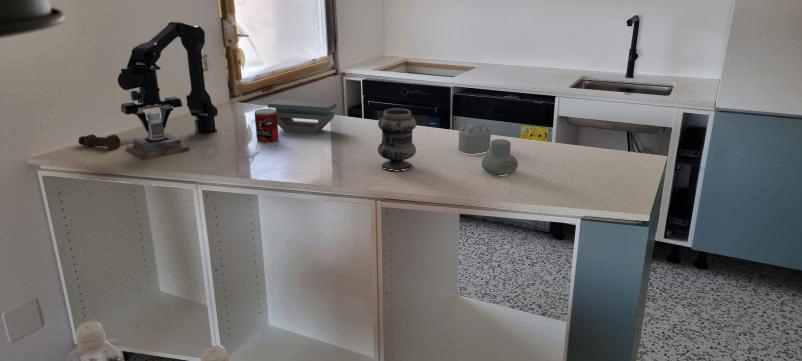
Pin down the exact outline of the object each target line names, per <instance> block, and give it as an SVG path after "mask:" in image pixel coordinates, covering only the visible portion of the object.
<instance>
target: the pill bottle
mask: <svg viewBox="0 0 802 361" xmlns="http://www.w3.org/2000/svg"><path fill="white" fill-rule="evenodd" d="M160 114H161V113H160V112H159V111H158V112H157V111H153V112H147V113H146V118H147V124H148V131H147V135H148V137H149V139H150V140H160V139H163V138H165V129H164V127H163V121H162V119H161V118H160V117H161V115H160Z"/></svg>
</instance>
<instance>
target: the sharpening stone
mask: <svg viewBox="0 0 802 361" xmlns="http://www.w3.org/2000/svg"><path fill="white" fill-rule="evenodd" d="M336 108H337V103H336V102H335V103H334V102H323V101H321V102H320V101H309V100H308V101H306V100H304V101H303V100H291V99H289V100H288V99H276V100H273V101H271V102H268V103H267V109H275V110H276V111H277V122H278V127H279V128H280V129H282V131H284V133H289V134H299V135H310V134H312V135H311V136H313V135H315V134H316V133H318V132H320V131H322V130H323V129H324V128H325V127H326V126H327V125H328V124H329V123H330V122H331V121H332V120H333V119H334V118H335V111H332V110H334V109H336ZM295 119H299V120H295ZM300 119H303V120H304V121H303V120H301V121H300ZM305 120H312V121H305ZM313 120H314V121H315V122H314V121H313ZM316 120H317V122H316Z"/></svg>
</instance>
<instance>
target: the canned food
mask: <svg viewBox="0 0 802 361" xmlns="http://www.w3.org/2000/svg"><path fill="white" fill-rule="evenodd" d="M254 122H255V132H256V133H255V135H256V141H257V142H258V143H261V142H262V144H268V143H267V142H271V143H275V142H278V140H279V125H278V122H277V111H276V108H261V109H257V110H256V109H255V111H254ZM274 141H275V142H274ZM263 142H264V143H263ZM265 142H266V143H265Z"/></svg>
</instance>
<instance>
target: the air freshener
mask: <svg viewBox="0 0 802 361" xmlns="http://www.w3.org/2000/svg"><path fill="white" fill-rule="evenodd" d="M481 167H482V168H483V170H484V171H485V172H487V173H489V174H490V175H493V174H495V175H494V176H497V175H505V174H508V175H511V174H512V173H515V171H516V170H517V169H518V167H519V162H518V159H516V157H515V156H513V155H512V154H511V141H510V140H507V139H503V138H502V139H501V138H499V139H493V140H492V141H490V151H489V153H487V154H485V156H483V158H482V160H481Z"/></svg>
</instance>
